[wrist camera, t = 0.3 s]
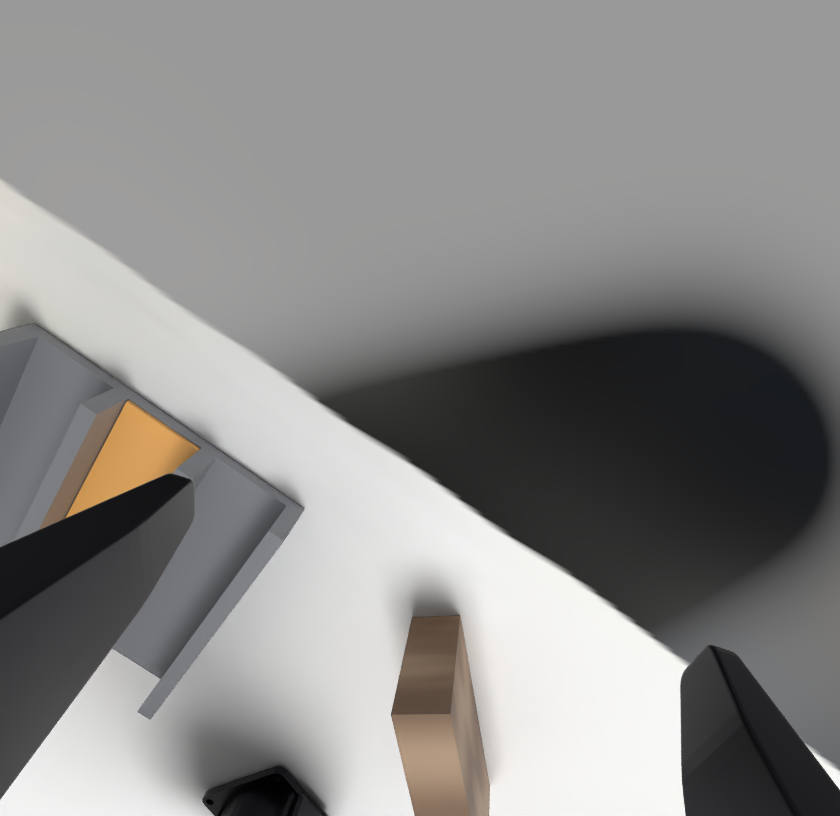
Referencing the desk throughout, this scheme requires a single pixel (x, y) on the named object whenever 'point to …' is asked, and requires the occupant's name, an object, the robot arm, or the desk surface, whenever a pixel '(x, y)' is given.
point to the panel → (440, 722)
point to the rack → (122, 471)
